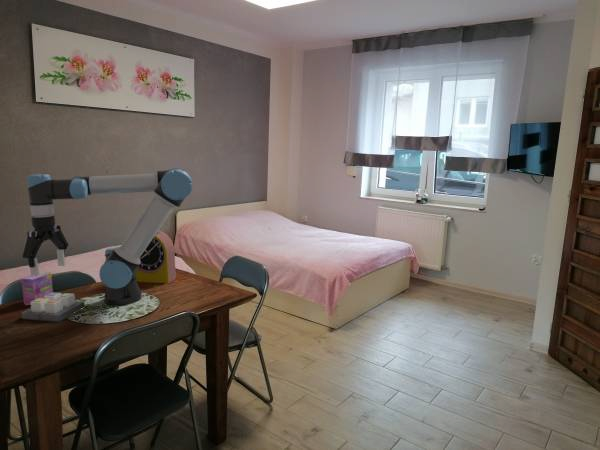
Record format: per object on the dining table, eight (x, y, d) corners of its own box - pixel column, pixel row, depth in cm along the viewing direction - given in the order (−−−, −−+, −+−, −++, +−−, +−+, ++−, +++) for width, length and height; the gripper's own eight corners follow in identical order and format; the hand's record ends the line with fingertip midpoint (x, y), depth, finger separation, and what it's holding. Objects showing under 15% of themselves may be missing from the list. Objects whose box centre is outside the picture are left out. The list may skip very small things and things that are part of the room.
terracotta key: (63, 309, 170) (62, 299, 169) (55, 313, 165) (54, 303, 164) (53, 308, 170) (52, 298, 170) (45, 312, 166) (43, 302, 165)
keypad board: (84, 307, 178) (84, 301, 178) (58, 321, 163) (58, 315, 163) (50, 305, 181) (50, 299, 180) (22, 318, 166) (21, 312, 166)
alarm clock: (128, 281, 214) (124, 229, 209) (138, 275, 222) (134, 225, 218) (168, 283, 210) (165, 230, 206) (176, 277, 219) (173, 227, 214)
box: (35, 306, 179) (32, 279, 177) (23, 305, 181) (20, 278, 178) (54, 298, 189) (51, 272, 187) (43, 297, 191) (40, 271, 189)
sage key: (75, 303, 176) (74, 293, 176) (67, 307, 172) (66, 296, 171) (65, 302, 177) (64, 292, 176) (58, 306, 173) (57, 296, 172)
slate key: (62, 302, 177) (61, 292, 177) (54, 306, 173) (53, 296, 172) (52, 301, 178) (51, 291, 177) (44, 305, 174) (43, 295, 173)
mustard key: (49, 308, 171) (48, 298, 170) (41, 312, 166) (40, 302, 166) (40, 307, 171) (38, 297, 171) (31, 311, 167) (30, 301, 166)
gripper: (58, 210, 174) (63, 261, 178) (6, 220, 150) (13, 279, 154) (74, 211, 173) (79, 262, 177) (24, 221, 149) (31, 280, 153)
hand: (49, 270), depth 165 cm, fingers open, 13 cm apart
